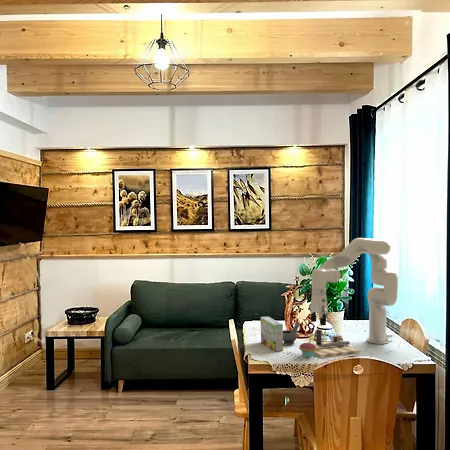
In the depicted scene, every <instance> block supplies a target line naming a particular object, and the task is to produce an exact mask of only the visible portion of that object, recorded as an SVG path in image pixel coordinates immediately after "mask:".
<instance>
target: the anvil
mask: <svg viewBox="0 0 450 450" xmlns="http://www.w3.org/2000/svg"><path fill="white" fill-rule="evenodd" d="M331 337H332V340H331V341H332V342H337V338H338V337H342V338H343V336H342V335H340V334H339V335H333V336H331Z"/></svg>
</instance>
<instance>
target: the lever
mask: <svg viewBox="0 0 450 450" xmlns="http://www.w3.org/2000/svg"><path fill="white" fill-rule="evenodd" d="M322 330H323V329H319V328H317V329H316V330H315V337H316V338H315V343H316V345H318V347H319V348H323V347H332V346H341V345H348V346H350V344H351V342H350V341H348V340H344V339H343V340H339V342H334V343H324V344H322V342H323V335H322V334H323V331H322Z"/></svg>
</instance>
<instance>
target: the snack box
mask: <svg viewBox="0 0 450 450" xmlns="http://www.w3.org/2000/svg"><path fill="white" fill-rule="evenodd" d="M259 318H260V342H261V343H262V344H263V345H265V346H266V347H267V348H269V349H271V351H273V352H275V353H276V352H283V351H284V344H283V342H284V341H283V331H284V330H283V327H284V324H283V323H281V322H279V321H278V320H275V319H274V318H272V317H271V316H260V317H259Z"/></svg>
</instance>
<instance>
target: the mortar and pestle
mask: <svg viewBox="0 0 450 450" xmlns="http://www.w3.org/2000/svg"><path fill="white" fill-rule="evenodd" d="M300 326H301V325H300V324H299V323H297V322H296V323H295V324H294V326H293V328H292V329H288V330H287V329H285V330H283V346H295V341H296V340H297V338H298V329H299V327H300Z"/></svg>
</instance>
